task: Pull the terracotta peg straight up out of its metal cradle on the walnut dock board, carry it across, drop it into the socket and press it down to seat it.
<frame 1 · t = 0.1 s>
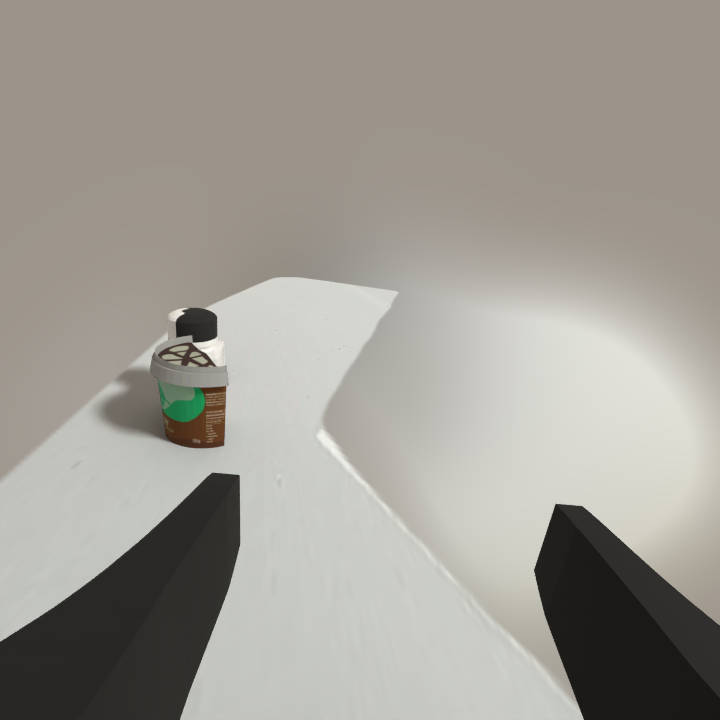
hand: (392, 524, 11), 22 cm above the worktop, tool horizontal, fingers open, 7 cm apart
medicine bottle: (195, 398, 66), on the worktop
food container: (183, 435, 57), on the worktop
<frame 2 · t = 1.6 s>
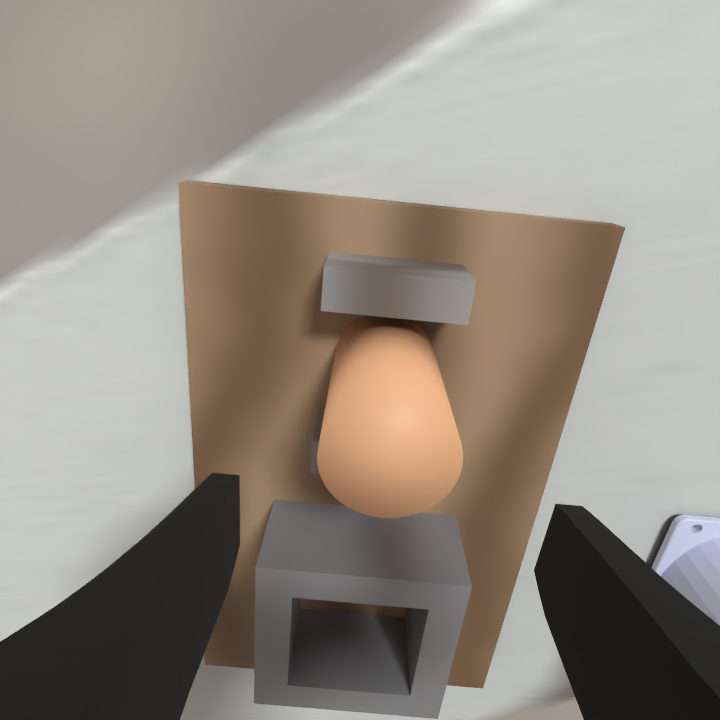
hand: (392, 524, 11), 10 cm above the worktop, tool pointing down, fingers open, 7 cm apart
socket: (357, 559, 25), resting on dock board
dock board: (367, 482, 23), on the worktop
peg: (384, 358, 20), point 1 cm above the worktop, touching dock board
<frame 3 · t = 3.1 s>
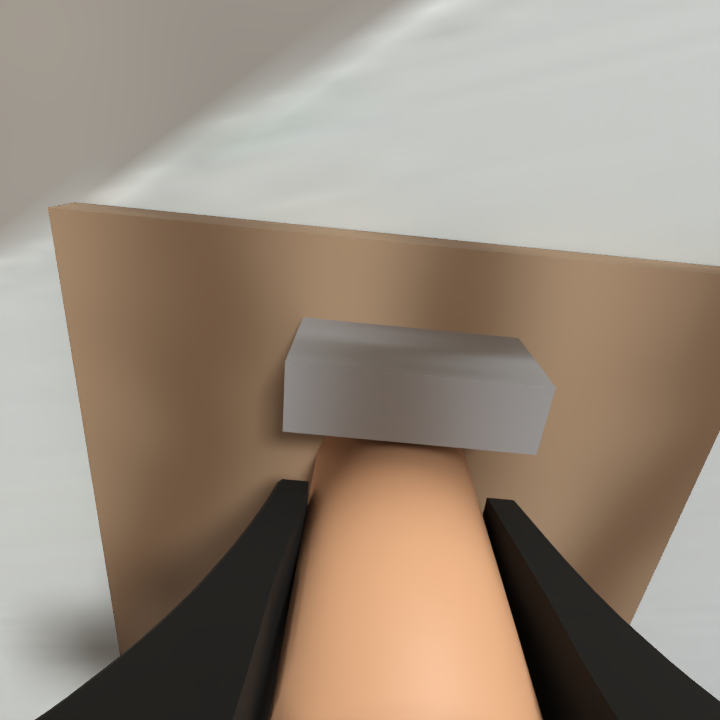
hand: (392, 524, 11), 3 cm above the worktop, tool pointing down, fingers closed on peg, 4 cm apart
dock board: (364, 621, 17), on the worktop
peg: (390, 472, 13), point 1 cm above the worktop, touching dock board, gripper
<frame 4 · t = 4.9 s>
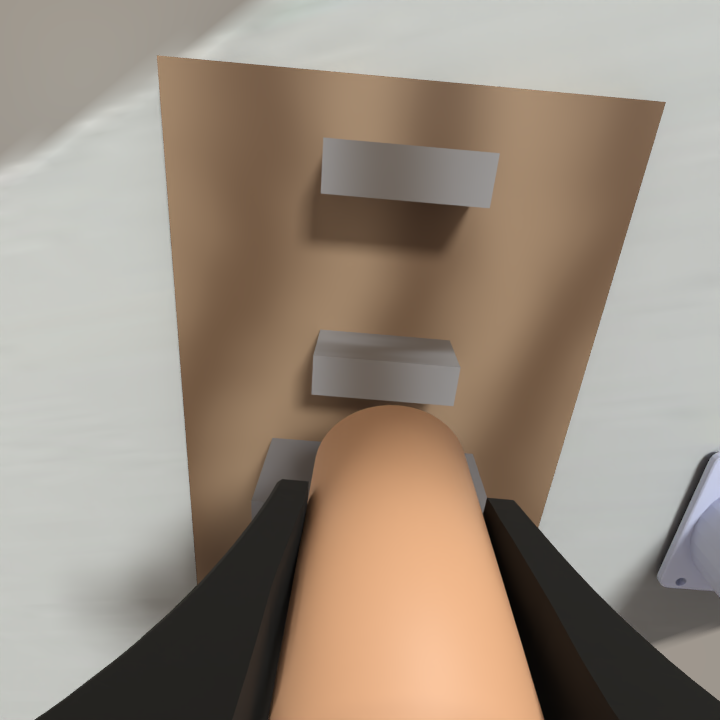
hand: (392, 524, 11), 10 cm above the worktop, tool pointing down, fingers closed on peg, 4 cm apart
socket: (364, 508, 23), resting on dock board
dock board: (374, 419, 21), on the worktop
peg: (389, 471, 13), point 8 cm above the worktop, touching gripper
when the fingers open (6 cm above the worktop, at t = 6.7 s): peg drops 3 cm, resting on dock board.
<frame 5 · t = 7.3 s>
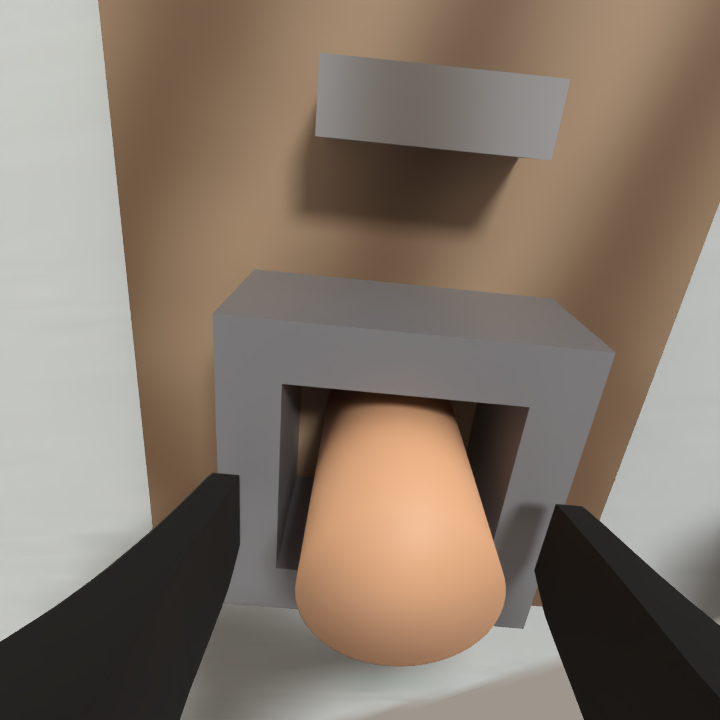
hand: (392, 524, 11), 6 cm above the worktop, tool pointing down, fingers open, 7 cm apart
socket: (386, 398, 17), resting on dock board
dock board: (405, 252, 15), on the worktop
peg: (388, 412, 16), point 1 cm above the worktop, touching dock board
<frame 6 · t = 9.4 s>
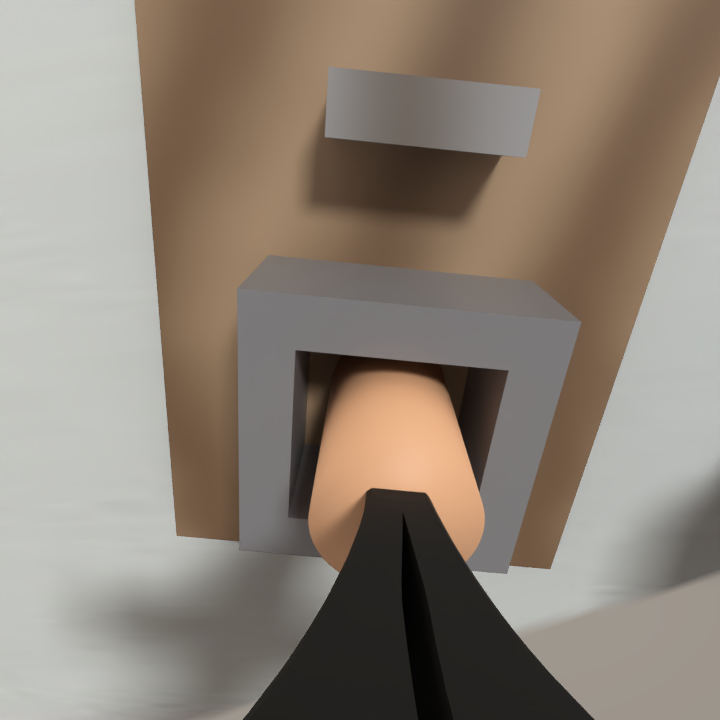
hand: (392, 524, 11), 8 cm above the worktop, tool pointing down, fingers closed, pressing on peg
socket: (385, 374, 18), resting on dock board
dock board: (402, 240, 16), on the worktop
peg: (387, 385, 17), point 1 cm above the worktop, touching dock board, gripper
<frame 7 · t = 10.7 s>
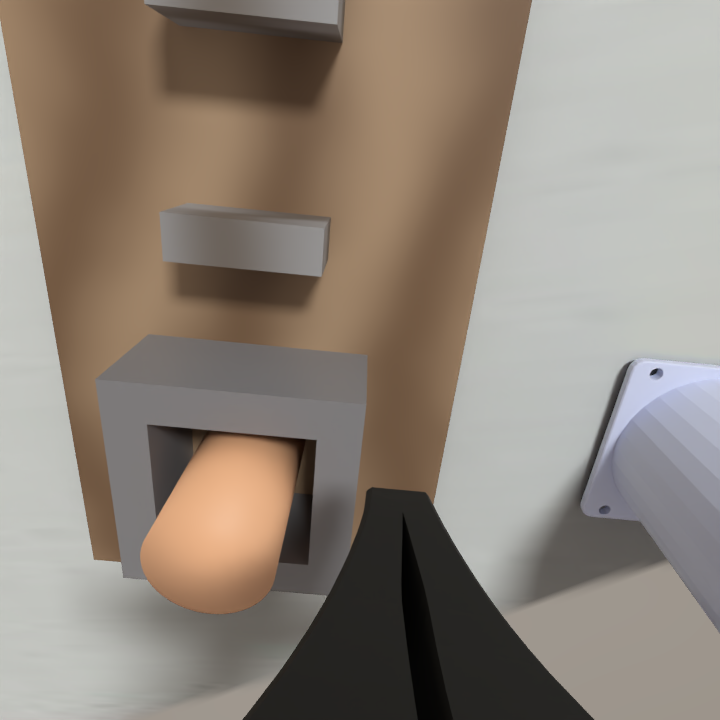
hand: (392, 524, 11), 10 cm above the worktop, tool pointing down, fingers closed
socket: (262, 424, 22), resting on dock board
dock board: (263, 319, 20), on the worktop
peg: (258, 436, 21), point 1 cm above the worktop, touching dock board
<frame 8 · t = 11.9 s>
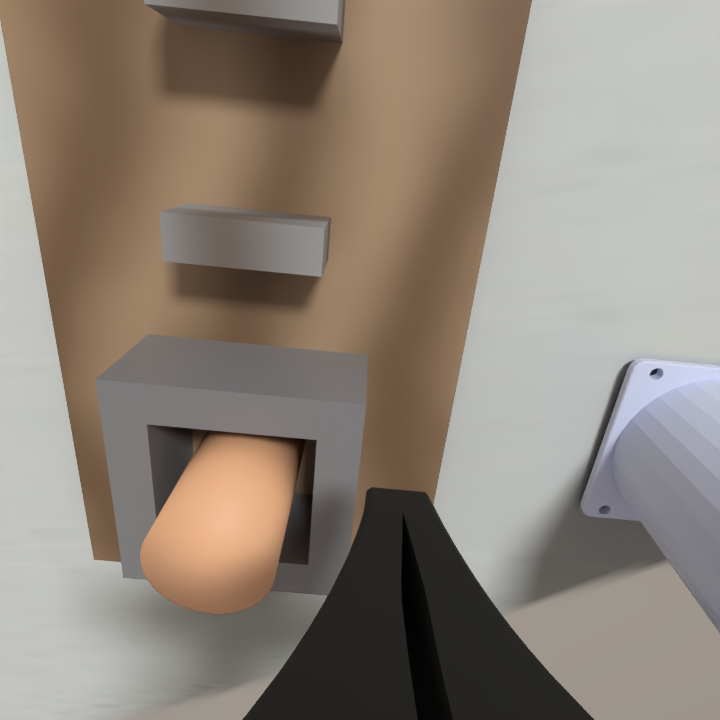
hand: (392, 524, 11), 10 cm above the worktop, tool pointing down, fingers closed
socket: (262, 424, 22), resting on dock board
dock board: (263, 319, 20), on the worktop
peg: (258, 436, 21), point 1 cm above the worktop, touching dock board
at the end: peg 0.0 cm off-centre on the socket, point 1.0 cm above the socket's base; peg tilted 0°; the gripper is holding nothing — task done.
